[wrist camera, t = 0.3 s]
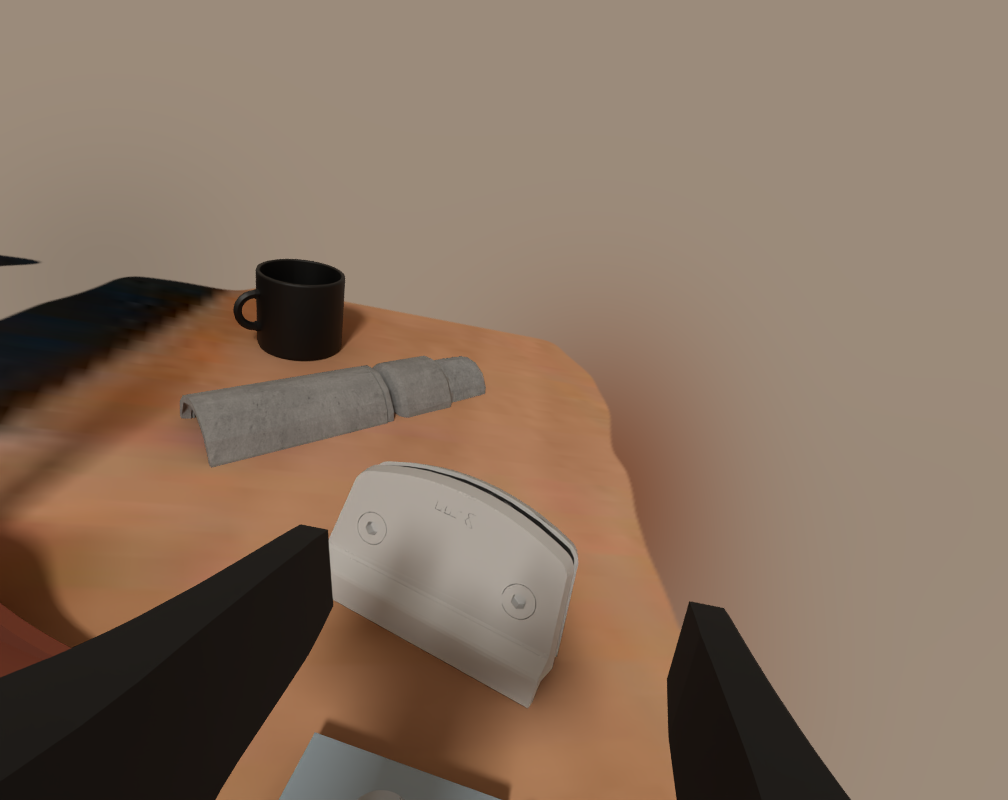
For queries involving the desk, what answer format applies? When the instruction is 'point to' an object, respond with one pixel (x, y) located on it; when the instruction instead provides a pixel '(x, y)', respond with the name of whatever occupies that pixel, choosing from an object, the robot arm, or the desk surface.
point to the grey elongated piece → (325, 404)
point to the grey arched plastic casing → (455, 572)
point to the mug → (296, 309)
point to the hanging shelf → (23, 643)
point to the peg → (380, 795)
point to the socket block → (364, 776)
